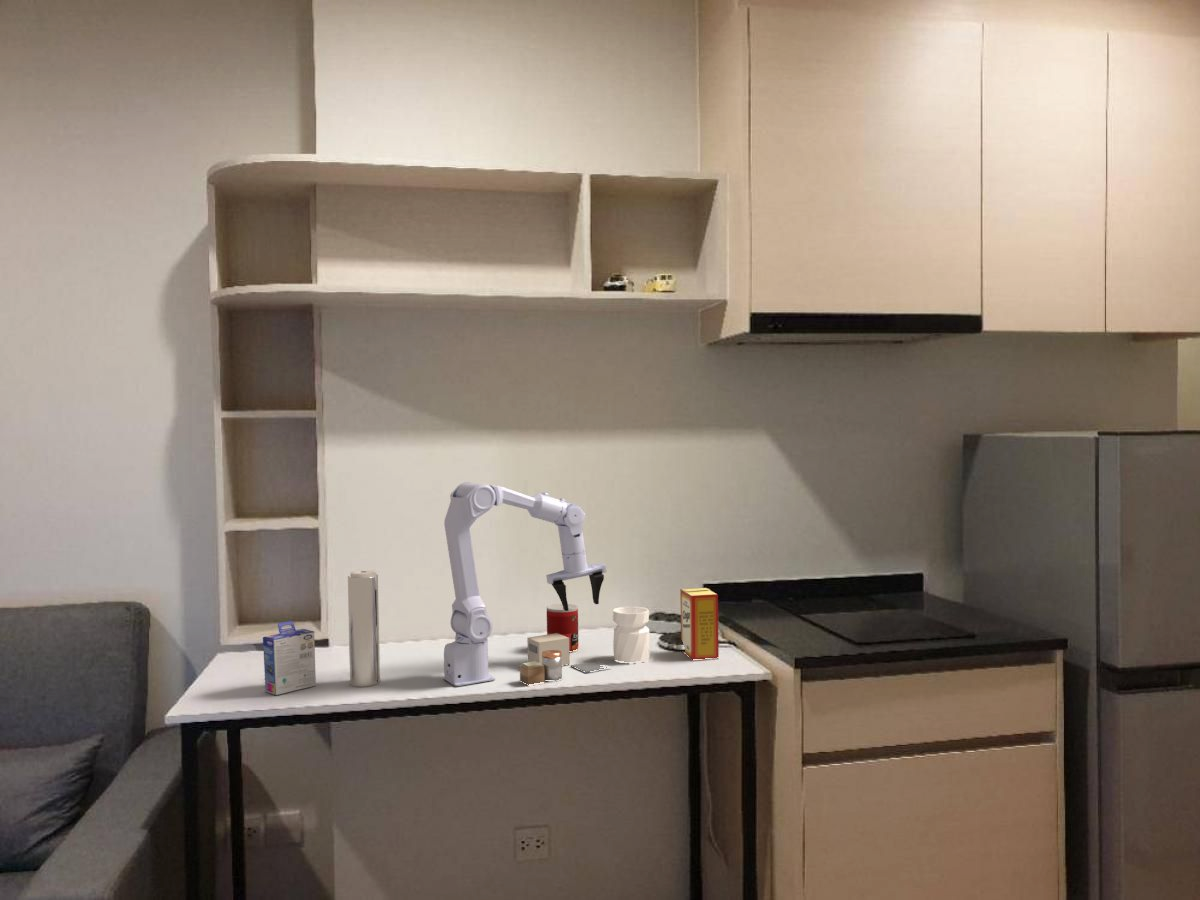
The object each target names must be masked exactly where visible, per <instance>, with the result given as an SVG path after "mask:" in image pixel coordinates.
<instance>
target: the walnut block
mask: <svg viewBox="0 0 1200 900" xmlns="http://www.w3.org/2000/svg"><path fill="white" fill-rule="evenodd" d="M520 681H522V682H524V683H526V684H528V685H529V684H534V683H540V682H545V683H546V681H545V680H544V665H542V664H540V663H538V662H536V661H533V662H528V661H527V662H522V663H521V664H519V682H520Z"/></svg>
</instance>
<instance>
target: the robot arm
mask: <svg viewBox="0 0 1200 900" xmlns="http://www.w3.org/2000/svg"><path fill="white" fill-rule="evenodd" d="M449 497H450V502H449V504H448V505H449V506H448V509H447V512H446V515H445V516H444V517H445V518H444V530H445V536H446V544H447V552H448V557H449V564H450V568H451V569H450V570H451V576H452V577H451V578H452V582H453V583H452V584H453V589H454V590H453V591H454V596H455V600H454V601H453V603H452V605H451V609H452V613H451V617H450V628H451V630H452V631H453V632H454V633H455V637H454V641H452V642H450V643H449V642H448V643H446V644H445V645H444V649H443V671H444V672H443V675H444V676H442V679H443V680H444V681H447V682H448V683H450V684H451V685H453V686H454V687H460V686H461V687H462V686H468V685H472V684H473V685H474V684H479V683H484V682H490V681H495V680H496V677H495V676H493V675H491V674H489V646H488V645H489V643H488V642H489V639H488V638H489V637H490V635H491V634H492V631H493V621H492V619H491V617H490V616H489V614H488V612H487V607H486V604H485V603H484V601H483V599H482V597H481V595H480V589H479V582H478V576H477V570H476V564H475V563H476V562H475V557H474V551H473V544H472V543H473V542H472V536H471V530H470V528H471V527H472V525H473V524H474V523H475V522H476V520H477V519H479V518H480V517H481V516H483V515H484V514H486V513H488V512H489V511H490V510H491V509H492V508H493V507H494V506H500V505H501V504H505V505H508V506H513V507H516V508H520V509H523V510H526V511H527V512H528V513H529V515H530V516H531V517H532V518H534V519H539V520H542V521H545V522H548V523H552V524H554V525H556V526H557V528H558V530H557V531H558V536H559V543H560V551H561V558H562V565H563V570H559V571H556V572H552V573H550V574H546V575H545V576H546V582H547V584H549V585H551V586H552V587H553V588H554V590H555V592H556V593H557V596H558V597H559V600H560V602H561V604H562V605H563V609H564V610H565V611H569V610H568V604H569V603H568V599H567V585H565V583H564V582H565V581H567V580H572V579H576V578H582V577H586V576H588V577H589V582H590V586H591V594H592V602H593V603H594V604H595V605H599V604H600V601H599V600H600V593H601V588H602V585H603V582H604V580H605V576H604V575H605V573H607V566H606V564H605V563H603V562H602V563H596V564H590V565H589V564H588V560H587V555H586V545H585V539H584V533H583V530H584V528H583V527H584V526H583V525H584V522H585V520H586V513H585V512H584V511H583V510H584V509H582V507H580V505H579V504H577V503H571V502H566V499H565V498H555V497H552V496H550V494H549V493H547V492H541V493H536V494H534V495H533V496H530V495H527V494H524V493H521V492H518V491H515V490H513V489H510V488H507V487H504V486H502V485H493V484H487V483H474V482H467V481H464V482H462V483H459V485H457V486H456V487H455V489H454V490H453V491H452V492H451V493H450V495H449Z"/></svg>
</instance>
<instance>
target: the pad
mask: <svg viewBox="0 0 1200 900" xmlns="http://www.w3.org/2000/svg"><path fill="white" fill-rule="evenodd" d="M596 661H597V660H595V661H587V662H581V663H576V664H571V665H570V667H571V666H573V667H576V668H578V669H580V670H582V671H585V672H590V671H594V670H599V669H604V668H600V667H603V666H600V665H604V664H605V663H603V664H601V663H602V662H600V661H598V662H596ZM599 662H600V663H599ZM606 668H607V667H606Z"/></svg>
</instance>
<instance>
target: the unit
mask: <svg viewBox="0 0 1200 900" xmlns="http://www.w3.org/2000/svg"><path fill="white" fill-rule="evenodd" d="M526 641H527V662H533V661H536V662H538V663H540V664H542V652H543V651H547V650H558V651H561V652H562V665H566V664H570V653H569V638H568V637H566V636H563V635H560V634H558V633H555V634H548V635H547V634H544V635H537V636H536V635H535V636H531V637H530V636H529V637H527V640H526Z"/></svg>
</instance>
